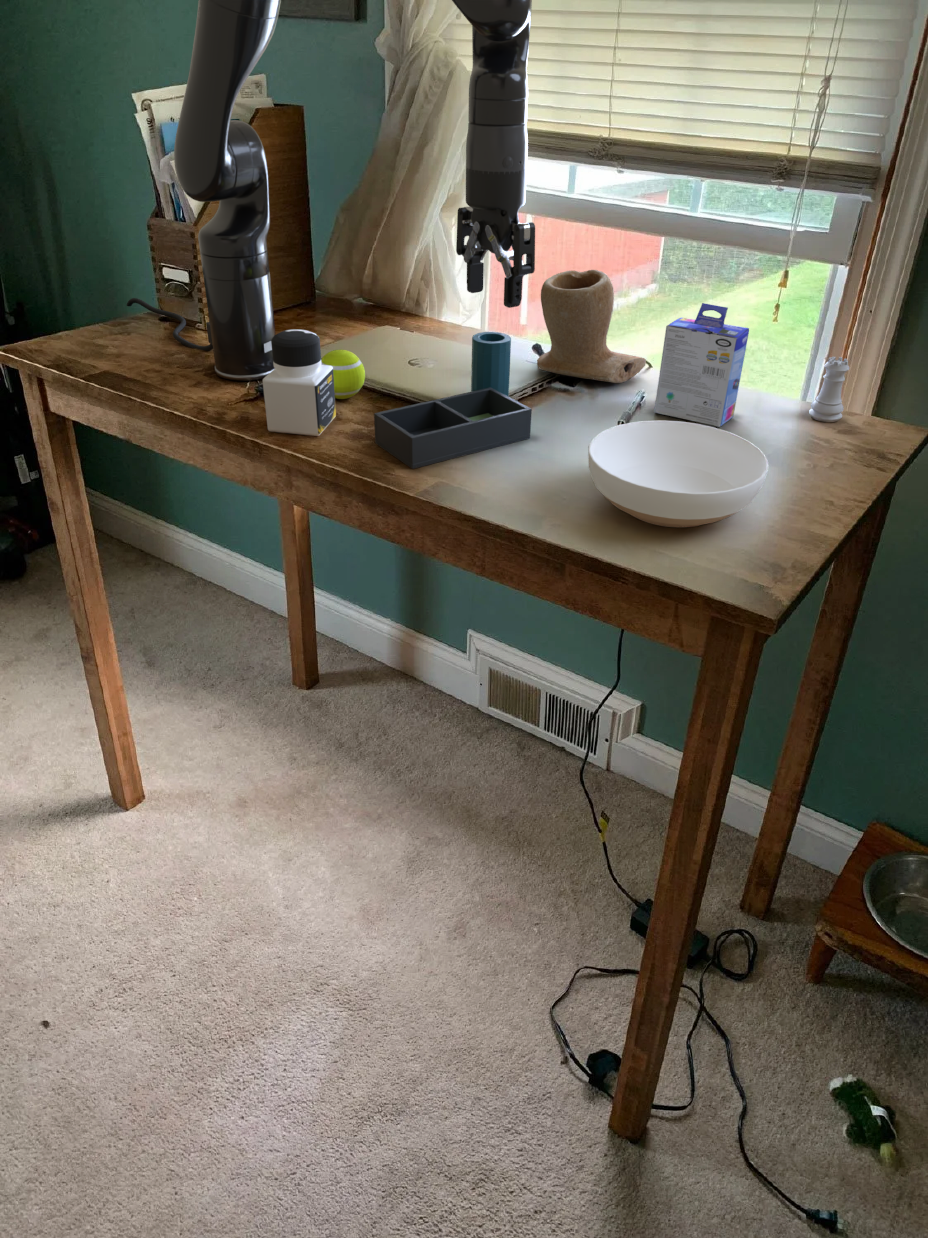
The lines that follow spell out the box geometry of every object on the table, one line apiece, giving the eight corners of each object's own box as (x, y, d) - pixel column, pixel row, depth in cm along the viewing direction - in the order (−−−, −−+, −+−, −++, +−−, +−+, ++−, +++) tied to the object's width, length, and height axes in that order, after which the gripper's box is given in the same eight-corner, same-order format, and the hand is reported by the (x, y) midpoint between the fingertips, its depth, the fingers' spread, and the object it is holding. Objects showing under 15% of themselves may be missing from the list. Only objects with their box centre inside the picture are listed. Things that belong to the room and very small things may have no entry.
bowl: (630, 454, 118) (636, 407, 115) (782, 496, 109) (794, 446, 106) (551, 512, 105) (555, 461, 101) (718, 565, 96) (728, 511, 92)
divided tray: (374, 443, 120) (373, 413, 118) (489, 415, 128) (490, 386, 126) (412, 469, 114) (411, 438, 111) (530, 438, 122) (532, 408, 120)
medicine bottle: (319, 437, 121) (312, 344, 114) (267, 432, 122) (257, 339, 116) (336, 416, 127) (331, 327, 120) (286, 412, 128) (278, 323, 121)
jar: (464, 398, 133) (465, 335, 128) (494, 391, 136) (496, 329, 131) (484, 410, 130) (486, 345, 125) (515, 403, 132) (518, 339, 127)
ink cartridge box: (735, 416, 129) (755, 309, 121) (722, 429, 125) (741, 319, 117) (667, 401, 134) (682, 297, 126) (652, 413, 130) (666, 306, 122)
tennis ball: (362, 406, 130) (360, 359, 126) (314, 405, 130) (310, 357, 127) (369, 389, 136) (367, 343, 132) (322, 388, 136) (319, 342, 132)
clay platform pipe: (520, 377, 141) (525, 273, 132) (556, 356, 149) (563, 257, 141) (613, 398, 134) (625, 290, 126) (646, 374, 143) (659, 272, 134)
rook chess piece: (802, 416, 130) (815, 359, 125) (816, 408, 132) (830, 351, 128) (833, 425, 127) (847, 367, 123) (847, 416, 130) (861, 359, 125)
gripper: (556, 169, 112) (548, 307, 121) (488, 154, 122) (485, 283, 131) (505, 174, 109) (501, 316, 118) (439, 158, 119) (440, 290, 128)
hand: (493, 298), depth 125 cm, fingers open, 8 cm apart
